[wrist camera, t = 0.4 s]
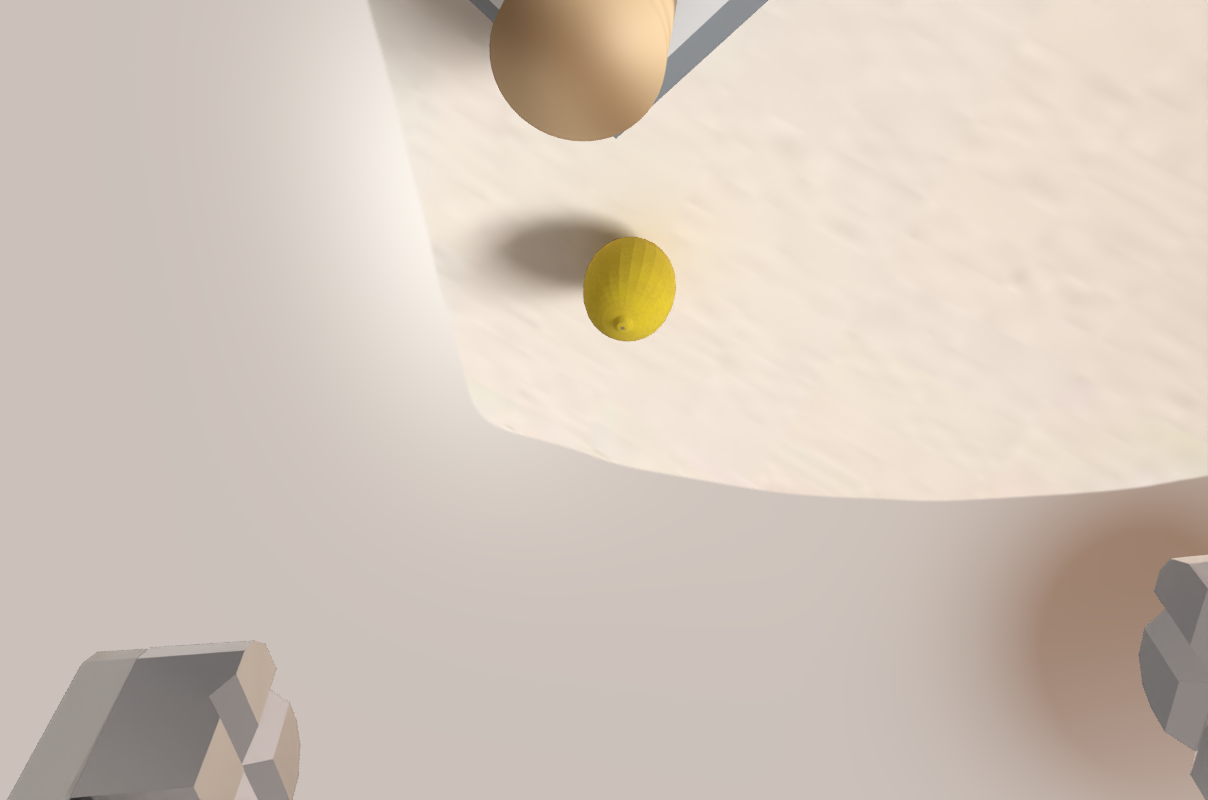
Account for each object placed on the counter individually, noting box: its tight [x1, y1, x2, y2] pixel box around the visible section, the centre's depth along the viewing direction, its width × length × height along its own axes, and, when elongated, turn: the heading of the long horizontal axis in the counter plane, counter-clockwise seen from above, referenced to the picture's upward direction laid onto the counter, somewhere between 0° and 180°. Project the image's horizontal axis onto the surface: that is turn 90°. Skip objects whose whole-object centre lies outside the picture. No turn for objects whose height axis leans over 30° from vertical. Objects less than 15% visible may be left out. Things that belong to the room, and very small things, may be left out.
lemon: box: [583, 237, 676, 341], centre depth 61 cm, size 6×6×8 cm
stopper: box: [490, 0, 677, 141], centre depth 38 cm, size 6×6×11 cm
